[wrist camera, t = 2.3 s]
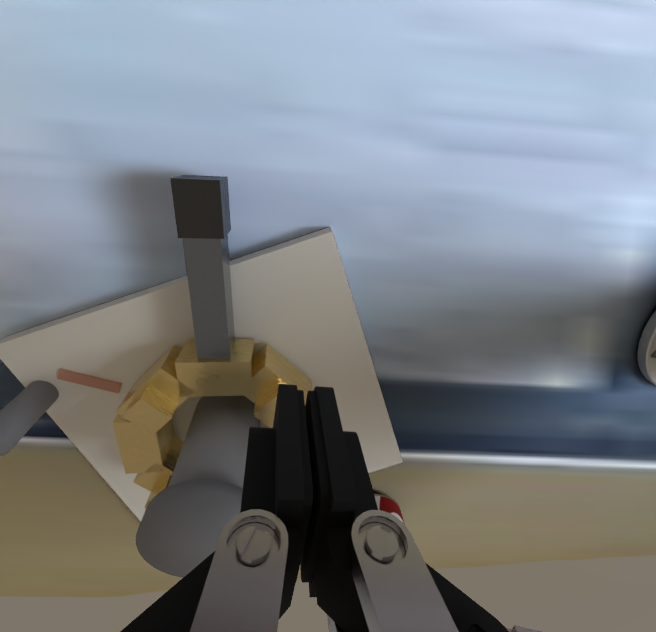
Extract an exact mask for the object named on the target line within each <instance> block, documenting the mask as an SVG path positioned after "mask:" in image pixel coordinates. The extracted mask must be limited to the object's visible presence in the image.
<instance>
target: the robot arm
mask: <svg viewBox="0 0 656 632" xmlns="http://www.w3.org/2000/svg"><path fill="white" fill-rule="evenodd" d="M637 355H638V365H639V368H640V370H641V373H642V374H643V375H644V377H645V378H646V379H647V380H648V381H650V382H651V383H653V384H654V385H656V310H655V312H654V313H653V315H652V316H651V317H650V319H649V321H648V323H647V324H646V326H645V328H644V330H643V333H642V336H641V338H640V341H639V347H638V353H637ZM300 565H301V580H302V582H309V592H310V597H317V604H318V605H319V607H321V609H322V610H323V611H324V612H325V613H326V614H327V617H328V627H329V631H330V632H541V631H537V630H532V629H529V628H524V627H520V626H516V625H515V626H514V627H513V629H508V628H505V627H504V626H503V625H502V624H501V623H500V622H499V621H498V620H497V619H496V618H495V617H493V616H492V615H491V614H490V613H488V612H487V611H486V610H485V609H483V608H482V607H481V606H480V605H478V604H477V603H476V602H475V601H473V600H472V599H471V598H469V597H468V596H467V595H466V594H464V593H463V592H462V591H461V590H459V589H458V588H457V587H455V586H454V585H453V584H451V583H450V582H449V581H448V580H447V579H445V578H444V577H443V576H441V575H440V574H439V573H438V572H436V571H435V570H434V569H433V568H431V567H430V566H429V565H428V564H426V563H425V561H424V559H423V557H422V555H421V553H420V551H419V549H418V547H417V545H416V543H415V541H414V539H413V537H412V535H411V533H410V531H409V530H408V528H407V527H406V525H405V524H404V523H403V522H402V521H401V520H399V519H398V518H397V517H395V516H394V515H392V514H390V513H388V512H385V511H382V510H378V507H377V503H376V500H375V496H374V492H373V489H372V485H371V481H370V478H369V474H368V470H367V467H366V463H365V459H364V456H363V452H362V448H361V445H360V441H359V437H358V435H357V433H356V432H350V431H343V429H342V424H341V420H340V415H339V411H338V406H337V402H336V397H335V393H334V389H333V388H332V387H319V386H315V388H314V391H308V393H307V398H306V404H305V402H304V392H303V390H297V385H289V384H279V386H278V393H277V400H276V407H275V415H274V422H273V428H262V427H250V428H249V437H248V446H247V455H246V464H245V473H244V482H243V491H242V500H241V510H240V513H239V514H238V515H236V516H234V517H233V518H232V519H231V520H230V521H229V522H228V523H227V524H226V525H225V527H224V529H223V531H222V533H221V535H220V538H219V541H218V544H217V547H216V550H215V551H214V552H213V553H212V554H211V555H209V556H208V557H207V558H206V559H205V560H204V561H202V562H201V563H200V564H199V565H198V566H197V567H195V568H194V569H193V570H192V571H191V572H190V573H188V574H187V575H186V576H185V577H184V578H183V579H181V580H180V581H179V582H178V583H177V584H176V585H174V586H173V587H172V588H171V589H170V590H168V591H167V592H166V593H165V594H164V595H163V596H162V597H160V598H159V599H158V600H157V601H156V602H154V603H153V604H152V605H151V606H150V607H149V608H147V609H146V610H145V611H144V612H143V613H142V614H140V615H139V616H138V617H137V618H136V619H135V620H133V621H132V622H131V623H130V624H129V625H128V626H127V627H125V628H124V629H123V630H122V631H121V632H277V629H278V621H279V619H280V618H281V616H282V615H283V614H284V613H285V611H286V610H287V609H288V608H289V607H290V604H291V600H292V596H293V591H294V586H295V582H296V580H297V575H298V571H299V566H300Z"/></svg>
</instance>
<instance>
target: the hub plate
mask: <svg viewBox="0 0 656 632" xmlns="http://www.w3.org/2000/svg"><path fill="white" fill-rule="evenodd" d="M229 262H230V276H231V291H232V305H233V319H234V333H235V339H254V341H255V354H256V353H257V352H258V351H259V350H260V349H261V348H263V347H264V346H265V345H266V344H269V345H270V346H271V347H272V348H273V349H275V350H276V351H277V352H278V353H279V354H281V355H282V356H283V357H284V358H285V359H287V360H288V361H289V362H290V363H291V364H293V365H294V366H295V367H296V368H297V369H299V370H300V371H301V372H302V373H303V374H305V375H306V376H307V377H308V378H309V379H311V382H312V390H314V388H315V386H319V387H332V388H333V389H334V393H335V397H336V402H337V406H338V411H339V415H340V420H341V424H342V429H343V431H350V432H356V433H357V435H358V437H359V441H360V445H361V448H362V452H363V456H364V459H365V463H366V467H367V470H368V473H371V472H374V471H377V470H380V469H383V468H386V467H390V466H393V465H396V464H399V463H402V462H403V461H402V458H401V455H400V451H399V448H398V445H397V442H396V438H395V435H394V432H393V428H392V425H391V422H390V419H389V415H388V412H387V409H386V405H385V402H384V399H383V396H382V392H381V389H380V386H379V382H378V379H377V376H376V373H375V369H374V366H373V363H372V359H371V356H370V353H369V350H368V346H367V343H366V340H365V337H364V333H363V330H362V327H361V323H360V320H359V317H358V314H357V310H356V307H355V304H354V300H353V297H352V294H351V291H350V287H349V284H348V281H347V277H346V274H345V271H344V268H343V264H342V261H341V258H340V254H339V251H338V248H337V245H336V241H335V238H334V235H333V231H332V230H331V228H330V227H328V228H325V229H322V230H319V231H316V232H313V233H310V234H307V235H304V236H301V237H298V238H295V239H293V240H290V241H287V242H284V243H281V244H278V245H275V246H272V247H269V248H266V249H263V250H260V251H257V252H254V253H251V254H248V255H245V256H242V257H239V258H236V259H233V260H231V261H229ZM186 340H195V334H194V326H193V318H192V310H191V302H190V294H189V286H188V277H187V275H186V276H183V277H180V278H177V279H174V280H171V281H169V282H166V283H163V284H160V285H157V286H154V287H151V288H148V289H145V290H142V291H139V292H136V293H133V294H130V295H127V296H124V297H121V298H118V299H115V300H112V301H109V302H107V303H104V304H101V305H98V306H95V307H92V308H89V309H86V310H83V311H80V312H77V313H74V314H71V315H68V316H65V317H62V318H59V319H56V320H53V321H50V322H47V323H45V324H42V325H39V326H36V327H33V328H30V329H27V330H24V331H21V332H18V333H15V334H12V335H9V336H6V337H5V338H3V339H2V340H0V359H1V360H2V361H3V363H4V364H5V365H6V366H7V367H8V368H9V370H10V371H11V372H12V373H13V374H14V375H15V376H16V378H17V379H18V380H19V381H20V382H21V383H22V385H23V386H24V387H25V389H24V390H23V391H21V392H20V393H19V394H18V395H17V396H16V397H15V398H14V399H13V400H12V401H10V402H9V403H8V404H7V405H6V406H5V407H4V408H3V409H2V410H1V411H0V456H2V455H5V454H7V453H8V452H9V451H10V450H11V449H12V448H13V447H14V446H15V444H16V443H17V442H18V441H19V440H20V439H21V438H22V437H23V436H24V435H25V434H26V433H27V431H28V430H29V429H30V428H31V427H32V426H33V425H34V424H35V423H36V422H37V421H38V419H39V418H40V417H41V416H42V415H43V414H44V413H45V412H47V414H48V415H49V416H50V417H51V418H52V419H53V420H54V422H55V423H56V424H57V425H58V426H59V427H60V429H61V430H62V431H63V432H64V433H65V434H66V436H67V437H68V438H69V439H70V440H71V441H72V442H73V444H74V445H75V446H76V447H77V448H78V449H79V451H80V452H81V453H82V454H83V455H84V456H85V458H86V459H87V460H88V461H89V462H90V463H91V465H92V466H93V467H94V468H95V469H96V470H97V471H98V473H99V474H100V475H101V476H102V477H103V478H104V480H105V481H106V482H107V483H108V484H109V485H110V487H111V488H112V489H113V490H114V491H115V492H116V493H117V495H118V496H119V497H120V498H121V499H122V500H123V502H124V503H125V504H126V505H127V506H128V507H129V509H130V510H131V511H132V512H133V513H134V514H135V515H136V517H137V518H138V519H139V520H140V521H141V523H140V526H139V528H138V531H137V534H136V545H137V548H138V551H139V553H140V555H141V556H142V557H143V558H144V560H145V561H147V562H148V563H149V564H150V565H152V566H153V567H154V568H156V569H158V570H160V571H162V572H165V573H167V574H170V575H174V576H178V577H185V576H186V575H187V574H188V573H190V572H191V571H192V570H193V569H194V568H195V567H197V566H198V565H199V564H200V563H201V562H202V561H204V560H205V559H206V558H207V557H208V556H209V555H211V554H212V553H213V552H214V551H215V550H216V547H217V544H218V541H219V538H220V535H221V533H222V531H223V529H224V527H225V525H226V524H227V523H228V522H229V521H230V520H231V519H232V518H233V517H234V516H236V515H238V514H239V513H240V510H241V500H242V491H243V482H244V473H245V464H246V455H247V446H248V437H249V428H250V427H262V428H270V427H269V426H267V425H266V424H265V423H263V422H262V421H260V420H259V419H258V418H256V417H255V416H254V408H255V403H253V402H252V401H251V400H249V399H248V398H247V397H245V396H244V395H241V396H205V397H188V398H187V399H186V400H185V401H184V402H183V403H182V404H181V405H180V406H179V407H178V408H176V409H175V411H174V414H173V416H172V423H173V429H174V435H175V436H176V437H178V438H179V439H181V440H182V441H184V443H183V446H182V448H181V451H180V454H179V457H178V460H177V463H176V466H175V468H174V471H173V474H172V477H171V480H170V483H169V486H168V488H166V489H164V490H162V491H161V492H159V493H158V494H157V495H156V496H155V497H154V498H153V499H152V500H151V501H150V502H149V504H148V506H147V508H146V509H145V505H146V503H147V500H148V498H149V495H150V491H148V490H147V489H145V488H143V487H141V486H139V485H137V484H135V483H133V482H134V480H135V477H136V475H137V473H130V474H125V470H124V466H123V462H122V458H121V455H120V451H119V447H118V443H117V439H116V436H115V432H114V428H113V424H112V422H113V421H114V419H115V418H116V416H117V415H118V413H116V410H117V409H118V407H119V406H120V404H121V403H122V401H123V399H124V398H125V396H126V395H127V393H128V392H129V390H130V389H131V387H132V386H133V384H134V383H135V382H136V381H137V380H138V379H139V378H140V377H141V376H142V375H144V374H145V373H146V372H147V371H148V370H149V369H150V368H151V367H152V366H153V365H154V364H155V363H156V362H157V361H158V360H159V359H160V358H161V357H162V356H163V355H164V354H165V353H166V352H167V351H168V350H169V349H170V348H171V347H172V346H173V345H176V346H177V347H178V348H180V349H181V350H182V348H183V346H184V344H185V342H186Z"/></svg>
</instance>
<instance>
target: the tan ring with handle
mask: <svg viewBox="0 0 656 632" xmlns="http://www.w3.org/2000/svg"><path fill="white" fill-rule="evenodd" d="M171 185H172V193H173V201H174V209H175V217H176V224H177V232H178V238H183V245H184V253H185V261H186V269H187V277H188V286H189V294H190V302H191V310H192V318H193V326H194V334H195V340H186V342H185V344H184V346H183V348H182V350H181V349H180V348H178V347H177V346H176V345H173V346H172V347H171V348H170V349H169V350H168V351H167V352H166V353H165V354H164V355H163V356H162V357H161V358H160V359H159V360H158V361H157V362H156V363H155V364H154V365H153V366H152V367H151V368H150V369H149V370H148V371H147V372H146V373H145V374H144V375H142V376H141V377H140V378H139V379H138V380H137V381H136V382H135V383H134V384H133V386H132V387H131V389H130V390H129V392H128V393H127V395H126V396H125V398H124V399H123V401H122V403H121V404H120V406H119V407H118V409H117V410H116V413H118V415H117V416H116V418H115V419H114V421H113V422H112V424H113V428H114V432H115V436H116V439H117V443H118V447H119V451H120V455H121V458H122V462H123V466H124V470H125V474H130V473H137V475H136V477H135V480H134V482H133V483H135V484H137V485H139V486H141V487H143V488H145V489H147V490H148V491H150V495H149V498H148V500H147V503H146V505H145V509H146V508H147V506H148V504H149V502H150V501H151V500H152V499H153V498H154V497H155V496H156V495H157V494H158V493H159V492H161V491H162V490H164V489H166V488H168V486H169V483H170V480H171V477H172V474H173V471H174V468H175V466H176V463H177V460H178V457H179V454H180V451H181V448H182V446H183V443H184V441H182V440H181V439H179V438H178V437H176V436H175V435H174V429H173V423H172V416H173V414H174V411H175V409H176V408H178V407H179V406H180V405H181V404H182V403H183V402H184V401H185V400H186V399H187V398H188V397H205V396H241V395H244V396H245V397H247V398H248V399H249V400H251V401H252V402H253V403H255V408H254V416H255V417H256V418H258V419H259V420H260V421H262V422H263V423H265V424H266V425H267V426H269V427H270V428H273V422H274V415H275V407H276V400H277V393H278V386H279V384H289V385H297V390H303V392H304V402H305V404H306V398H307V393H308V391H314V390H312V382H311V379H309V378H308V377H307V376H306V375H305V374H303V373H302V372H301V371H300V370H299V369H297V368H296V367H295V366H294V365H293V364H291V363H290V362H289V361H288V360H287V359H285V358H284V357H283V356H282V355H281V354H279V353H278V352H277V351H276V350H275V349H273V348H272V347H271V346H270V345H269V344H266V345H265V346H264V347H263V348H261V349H260V350H259V351H258V352H257V353H256V354H255V341H254V339H235V333H234V319H233V305H232V291H231V276H230V262H229V248H228V233H229V231H230V230H231V225H230V210H229V195H228V180H227V177H220V176H196V175H182V176H178V177H173V178H171Z"/></svg>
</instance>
